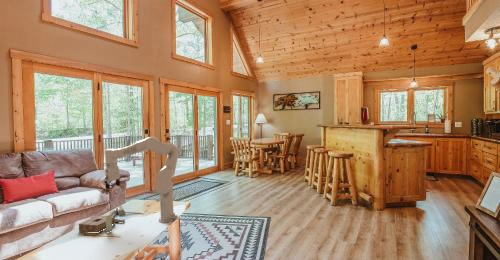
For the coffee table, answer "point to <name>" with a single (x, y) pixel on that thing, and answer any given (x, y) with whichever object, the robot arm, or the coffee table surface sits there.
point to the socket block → (94, 224)
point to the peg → (108, 223)
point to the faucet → (121, 213)
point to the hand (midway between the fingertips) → (112, 187)
